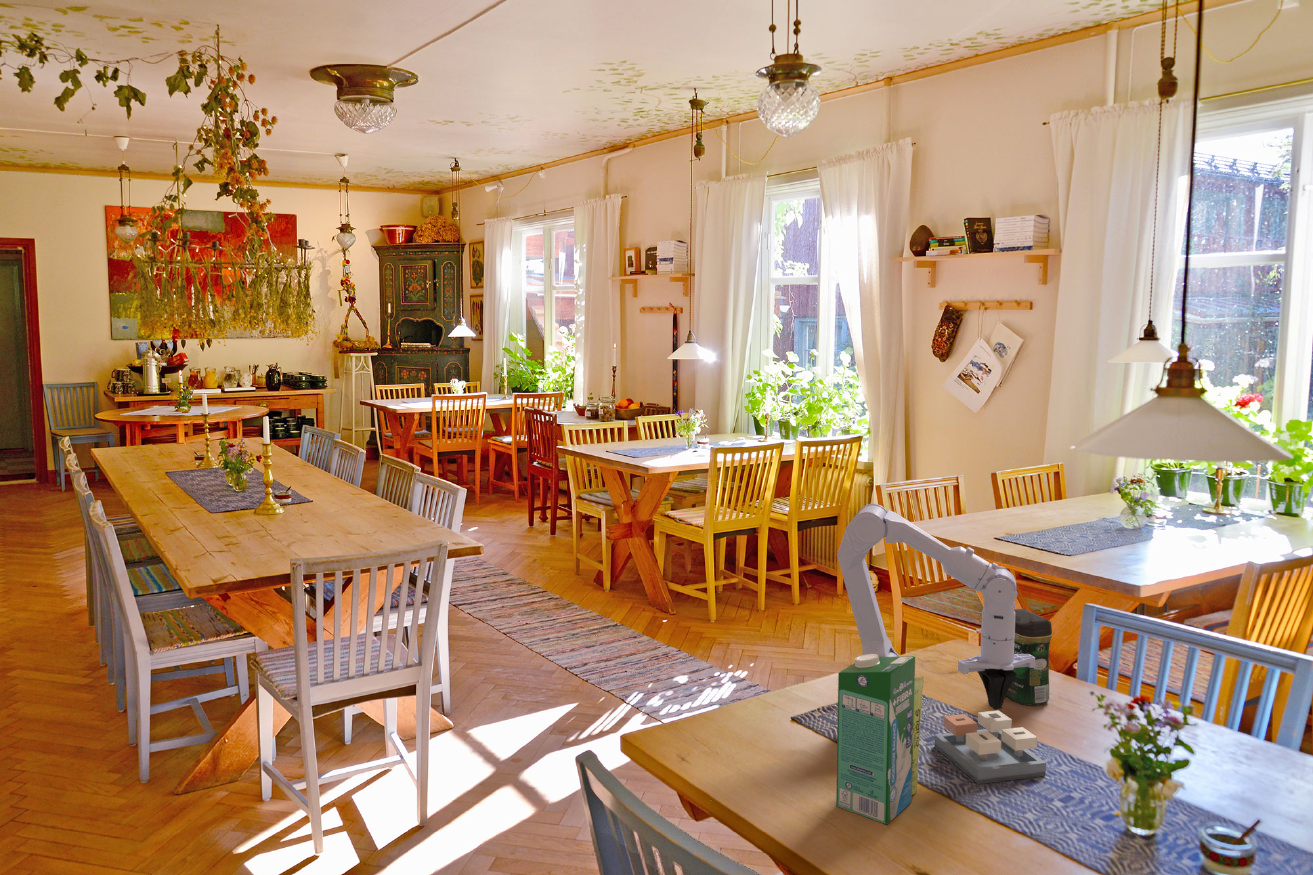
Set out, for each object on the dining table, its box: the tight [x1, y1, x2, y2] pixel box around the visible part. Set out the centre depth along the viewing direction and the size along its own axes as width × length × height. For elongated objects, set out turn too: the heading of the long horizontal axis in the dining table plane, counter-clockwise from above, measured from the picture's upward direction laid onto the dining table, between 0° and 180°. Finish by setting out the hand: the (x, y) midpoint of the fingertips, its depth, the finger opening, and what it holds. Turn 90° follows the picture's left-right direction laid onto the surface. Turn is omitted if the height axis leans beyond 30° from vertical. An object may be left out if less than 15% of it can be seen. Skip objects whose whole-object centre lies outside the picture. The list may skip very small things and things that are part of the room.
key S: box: [966, 731, 1001, 761], centre depth 159 cm, size 4×4×4 cm
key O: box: [977, 709, 1013, 738], centre depth 168 cm, size 4×4×4 cm
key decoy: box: [943, 713, 978, 742], centre depth 166 cm, size 4×4×4 cm
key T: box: [1001, 726, 1038, 757], centre depth 161 cm, size 4×4×4 cm
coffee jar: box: [1005, 608, 1053, 707], centre depth 191 cm, size 10×8×19 cm
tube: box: [912, 676, 925, 796], centre depth 152 cm, size 6×5×20 cm
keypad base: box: [934, 728, 1047, 785], centre depth 164 cm, size 13×14×2 cm
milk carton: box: [835, 654, 916, 825], centre depth 148 cm, size 9×9×25 cm
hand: (995, 707), depth 167 cm, fingers closed
